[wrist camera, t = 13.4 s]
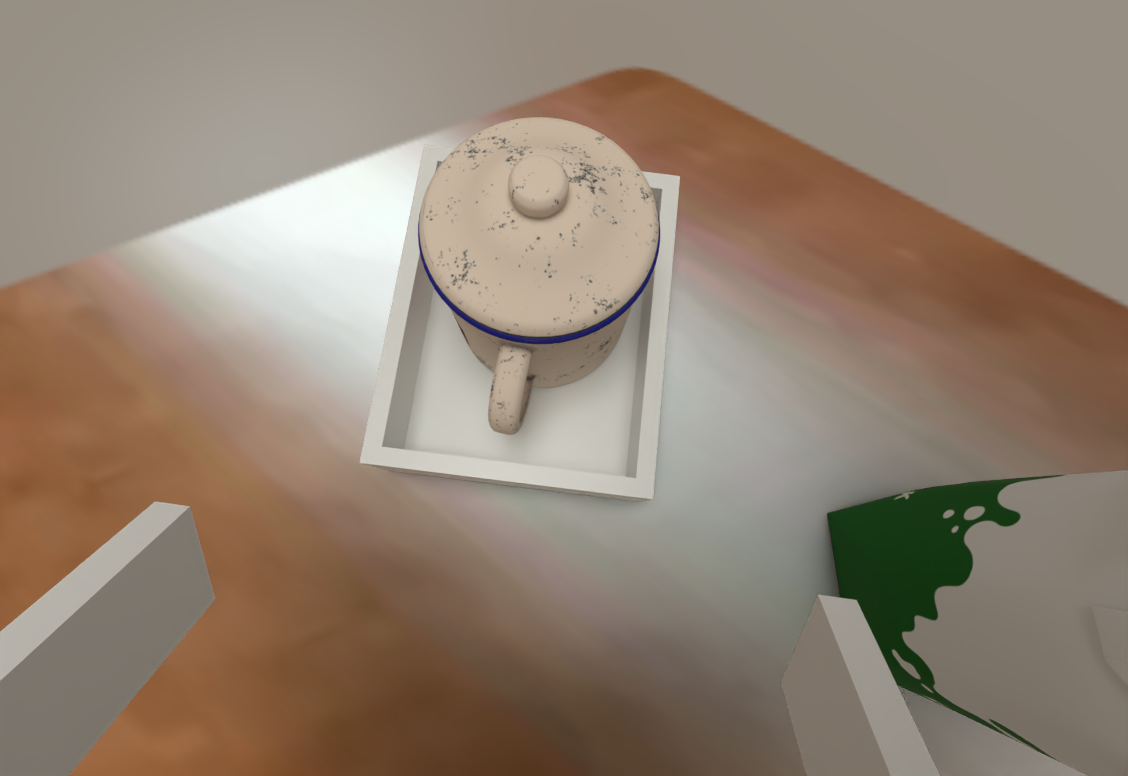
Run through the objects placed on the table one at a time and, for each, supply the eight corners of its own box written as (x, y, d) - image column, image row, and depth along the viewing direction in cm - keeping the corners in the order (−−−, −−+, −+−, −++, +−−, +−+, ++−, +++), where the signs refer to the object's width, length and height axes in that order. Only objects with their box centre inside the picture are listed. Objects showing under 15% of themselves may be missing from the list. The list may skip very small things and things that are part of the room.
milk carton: (834, 686, 26) (1646, 1176, 7) (805, 492, 28) (1371, 447, 9) (1013, 673, 27) (2266, 1103, 7) (972, 483, 29) (1868, 418, 9)
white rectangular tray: (661, 223, 31) (679, 176, 27) (636, 501, 28) (652, 499, 24) (441, 195, 31) (424, 144, 27) (389, 470, 28) (359, 462, 24)
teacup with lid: (478, 215, 30) (435, 35, 19) (642, 248, 30) (699, 86, 19) (421, 429, 27) (331, 369, 16) (601, 467, 27) (638, 432, 16)
